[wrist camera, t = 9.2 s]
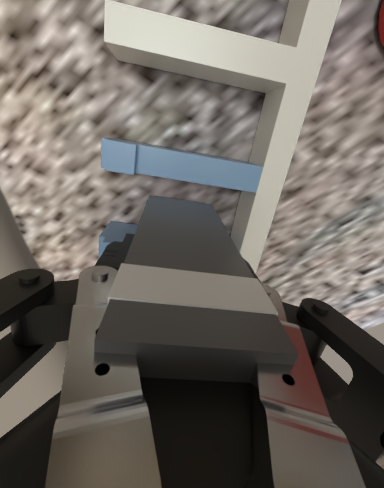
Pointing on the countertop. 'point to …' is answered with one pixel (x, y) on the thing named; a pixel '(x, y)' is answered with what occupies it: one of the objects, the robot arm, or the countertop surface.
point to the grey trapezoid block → (190, 301)
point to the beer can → (381, 24)
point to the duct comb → (230, 73)
